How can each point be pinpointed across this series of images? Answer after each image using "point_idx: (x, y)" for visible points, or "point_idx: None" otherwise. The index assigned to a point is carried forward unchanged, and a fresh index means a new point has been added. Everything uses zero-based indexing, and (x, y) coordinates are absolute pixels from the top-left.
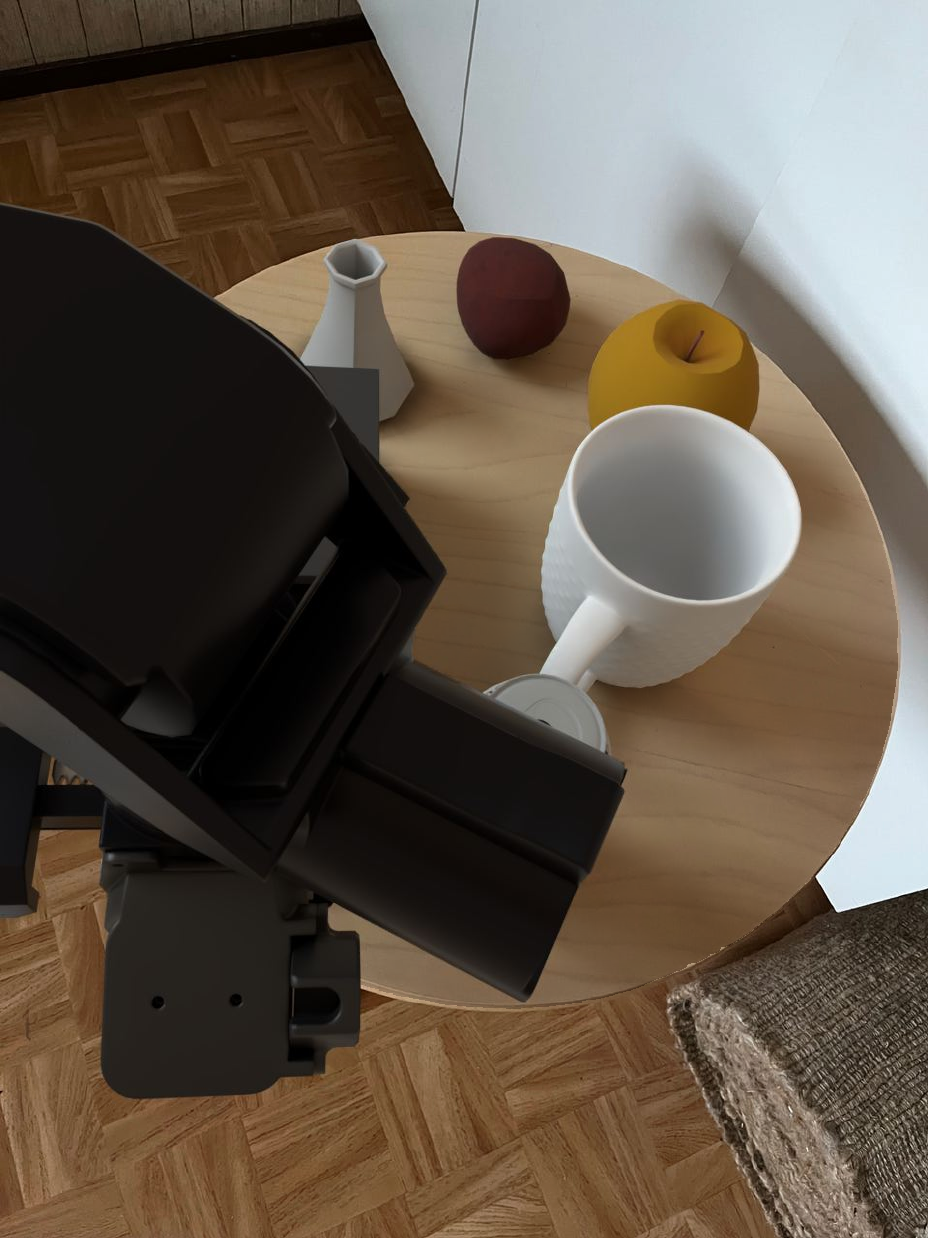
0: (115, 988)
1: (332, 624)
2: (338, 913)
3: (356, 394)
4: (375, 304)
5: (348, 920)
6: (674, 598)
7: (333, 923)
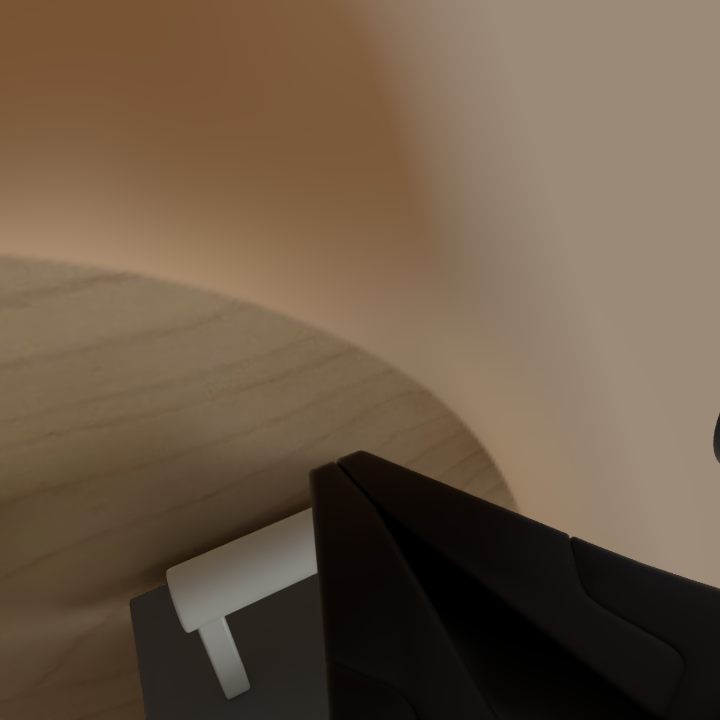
0: None
1: None
2: (65, 344)
3: None
4: None
5: (39, 338)
6: None
7: (67, 325)
